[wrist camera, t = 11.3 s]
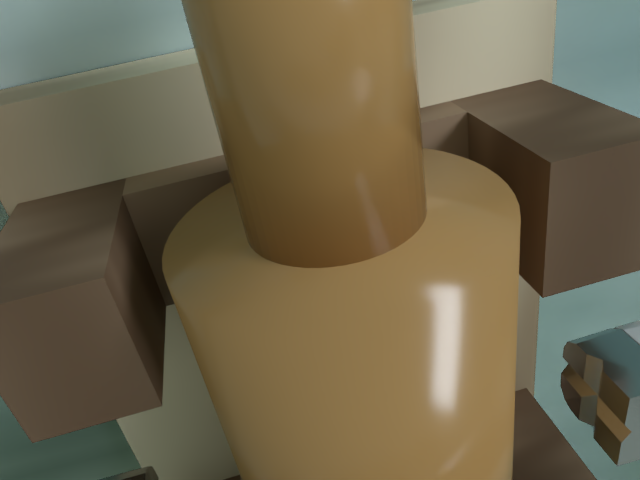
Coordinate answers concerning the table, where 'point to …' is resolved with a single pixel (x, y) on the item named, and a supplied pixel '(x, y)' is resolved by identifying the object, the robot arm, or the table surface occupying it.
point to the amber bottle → (344, 256)
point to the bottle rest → (211, 174)
